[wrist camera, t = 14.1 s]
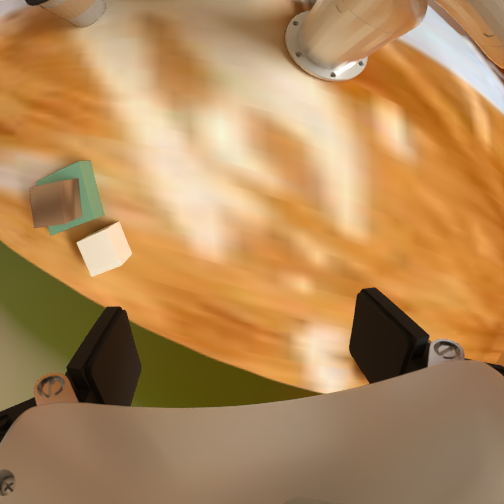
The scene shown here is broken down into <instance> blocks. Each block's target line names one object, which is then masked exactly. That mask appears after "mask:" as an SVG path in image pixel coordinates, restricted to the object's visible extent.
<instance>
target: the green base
mask: <svg viewBox="0 0 504 504" xmlns="http://www.w3.org/2000/svg"><path fill="white" fill-rule="evenodd" d="M78 178H79V188H80V199H81V208H82V217H79V218H77V219H75V220H73V221H70V222H68V223H66V224H61V225H54V226H48V229H49V232H50V235H54V234H56V233H59V232H62V231H64V230H67V229H69V228H72V227H75V226H77V225H80V224H83V223H86V222H88V221H91V220H94V219H96V218H98V217H100V216H102V215H105V214H104V211H103V207H102V204H101V200H100V197H99V193H98V189H97V185H96V181H95V177H94V173H93V168H92V164H91V161H78V162H76V163H74V164H72V165H69V166H67V167H65V168H63V169H61V170H59V171H57V172H55V173H53V174H51V175H49V176H47V177H45V178H43V179H41V180H39V181H37V182H36V184H37V186H40V185H44V184H48V183H53V182H58V181H64V180H71V179H78Z"/></svg>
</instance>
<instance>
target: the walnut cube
mask: <svg viewBox="0 0 504 504" xmlns="http://www.w3.org/2000/svg"><path fill="white" fill-rule="evenodd" d="M30 199H31V207H32V215H33V222H34V228H39V227H47V226H54V225H61V224H66V223H68V222H70V221H73V220H75V219H77V218H79V217H82V208H81V199H80V188H79V178H78V179H71V180H64V181H58V182H53V183H48V184H44V185H40V186H35V187H31V188H30Z"/></svg>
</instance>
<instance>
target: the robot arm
mask: <svg viewBox="0 0 504 504" xmlns="http://www.w3.org/2000/svg"><path fill="white" fill-rule="evenodd" d="M434 1H435V2H436V3H437V4H438V5H439V6H441V7H443V8H444V9H445V10H446V11H447V12H448V13H449V14H450V15H451V16H452V17H453V18H454V19H455V20H456V21H457V22H458V23H459V24H460V26H461V27H462V28H463V29H464V30H465V31H466V32H467V33H468V34H469V36H470V37H471V38H472V39H473V40H474V41H475V42H476V44H477V45H478V46H479V47H480V48H481V50H482V51H483V52H484V53H485V54H486V55H487V56H488V57H489V58H490V59H491V60H492V61H493V62H494V63H495V64H496V65H498V66H499V67H501V68H503V69H504V0H434ZM315 2H316V3H315V5H314V6H313V7H312V9H311V10H309V11H305V12H302V13H300V14H298V15H297V16H295V17H294V18H293V19H292V20H291V22H290V23H289V25H288V27H287V29H286V33H285V43H286V47H287V50H288V52H289V54H290V56H291V57H292V59H293V60H294V61H295V62H296V64H298V65H299V66H300V67H301V68H302V69H303V70H304V71H306V72H307V73H309V74H310V75H313V76H314V77H316V78H319V79H322V80H325V81H331V82H342V81H347V80H349V79H352V78H354V77H355V76H357V75H359V74H360V73H361V72H362V71H363V69H364V68H365V66H366V63H367V59H368V56H369V55H370V54H372V53H373V52H375V51H377V50H378V49H380V48H381V47H383V46H385V45H386V44H388V43H390V42H391V41H393V40H395V39H397V38H398V37H400V36H402V35H404V34H405V33H407V32H409V31H410V30H412V29H414V28H415V27H417V26H418V25H419V24H420V23H421V22H422V21H423V19H424V17H425V15H426V11H427V5H428V0H315ZM296 55H298V56H299V57H297V56H296ZM330 75H331V76H332V77H331V76H330ZM428 339H429V335H428V334H427V333H426V332H425V331H424V330H423V329H422V328H421V327H420V326H418V325H417V324H416V323H415V322H414V321H413V320H412V319H411V318H410V317H409V316H407V315H406V314H405V313H404V312H403V311H402V310H401V309H400V308H398V307H397V306H396V305H395V304H394V303H393V302H392V301H390V300H389V299H388V298H387V297H386V296H385V295H383V294H382V293H381V292H380V291H379V290H378V289H377V288H375V287H374V288H366V289H362V290H361V292H360V293H358V294H357V299H356V306H355V313H354V320H353V327H352V333H351V339H350V344H349V350H350V353H351V355H352V357H353V358H354V360H355V361H356V363H357V364H358V366H359V367H360V369H361V371H362V372H363V374H364V375H365V377H366V378H367V380H368V381H369V383H370V384H368V385H364V386H360V387H356V388H352V389H347V390H343V391H338V392H333V393H328V394H323V395H318V396H313V397H307V398H301V399H294V400H288V401H280V402H272V403H264V404H254V405H244V406H232V407H212V408H148V407H131V403H132V399H133V396H134V392H135V389H136V386H137V382H138V379H139V376H140V373H141V363H140V359H139V356H138V353H137V349H136V346H135V343H134V339H133V335H132V331H131V328H130V324H129V320H128V316H127V312H126V311H125V310H122V308H121V307H106V308H105V310H104V311H103V313H102V314H101V316H100V317H99V318H98V320H97V321H96V323H95V324H94V326H93V327H92V329H91V330H90V332H89V333H88V335H87V336H86V338H85V339H84V341H83V342H82V344H81V345H80V347H79V348H78V350H77V352H76V353H75V355H74V356H73V358H72V359H71V361H70V362H69V364H68V366H67V372H66V374H65V375H64V374H61V373H51V374H47V375H45V376H43V377H41V378H40V379H39V380H38V381H37V382H36V383H35V386H34V396H35V397H34V398H31V399H30V400H27V401H25V402H22V403H20V404H18V405H15V406H13V407H10V408H8V409H6V410H3V411H1V412H0V504H504V367H503V366H501V365H495V364H490V363H485V362H481V361H475V360H471V359H466V358H465V357H464V350H463V348H462V347H461V346H460V345H459V344H458V343H456V342H454V341H452V340H448V339H437V340H435V341H433V342H432V343H431V344H430V343H429V342H428Z"/></svg>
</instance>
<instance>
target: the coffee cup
mask: <svg viewBox="0 0 504 504" xmlns="http://www.w3.org/2000/svg"><path fill="white" fill-rule="evenodd" d="M25 1H26V2H27V4H29V5H32V6H35V5H40V6H41V7H42V8H44V9H46V10H48V11H50V12H51V13H53V14H55V15H57V16H59V17H60V18H62V19H66V20H67V21H69V22H71V23H73V24H74V25H76V26H78V27H86V26H89V25H91V24H93V23H94V22H95V21H97V20H98V19H99V18H100V17H101V16H102V14H103V13H104V11H105V9H106V4H105V2H104V0H25Z"/></svg>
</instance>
